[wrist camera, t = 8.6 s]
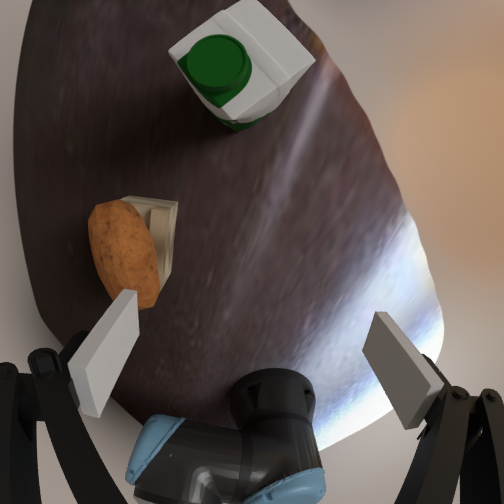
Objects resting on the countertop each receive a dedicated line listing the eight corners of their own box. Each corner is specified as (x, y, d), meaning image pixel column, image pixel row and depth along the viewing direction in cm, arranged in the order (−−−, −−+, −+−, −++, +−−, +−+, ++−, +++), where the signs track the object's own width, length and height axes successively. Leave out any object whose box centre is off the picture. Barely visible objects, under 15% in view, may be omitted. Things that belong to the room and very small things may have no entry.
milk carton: (192, 93, 35) (148, 41, 16) (247, 52, 33) (253, -28, 14) (236, 142, 37) (231, 130, 18) (291, 100, 35) (337, 54, 16)
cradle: (171, 271, 42) (160, 291, 36) (125, 264, 41) (108, 282, 35) (178, 201, 39) (166, 210, 33) (129, 195, 38) (110, 203, 32)
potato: (154, 190, 32) (132, 200, 25) (172, 296, 36) (158, 326, 29) (98, 199, 32) (68, 211, 25) (119, 299, 36) (98, 327, 29)
